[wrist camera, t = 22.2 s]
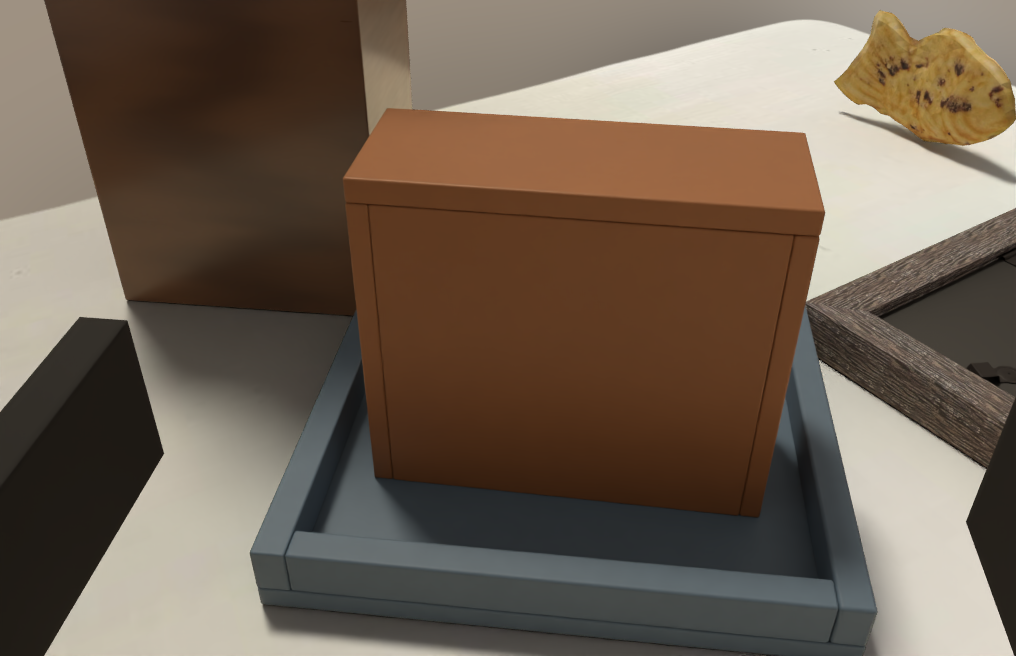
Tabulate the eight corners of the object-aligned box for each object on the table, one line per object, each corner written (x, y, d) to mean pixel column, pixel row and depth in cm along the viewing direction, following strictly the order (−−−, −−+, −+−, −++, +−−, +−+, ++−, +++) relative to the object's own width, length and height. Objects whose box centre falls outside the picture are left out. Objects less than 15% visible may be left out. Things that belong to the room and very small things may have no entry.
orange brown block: (374, 478, 25) (341, 177, 20) (407, 387, 28) (386, 106, 23) (759, 518, 24) (826, 211, 19) (750, 419, 27) (805, 131, 22)
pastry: (1011, 167, 41) (1049, 53, 38) (990, 177, 41) (1028, 60, 38) (843, 102, 47) (866, -2, 44) (823, 109, 46) (844, 3, 44)
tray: (260, 605, 23) (248, 552, 21) (374, 321, 32) (370, 275, 31) (861, 665, 21) (879, 612, 20) (795, 351, 31) (806, 304, 30)
